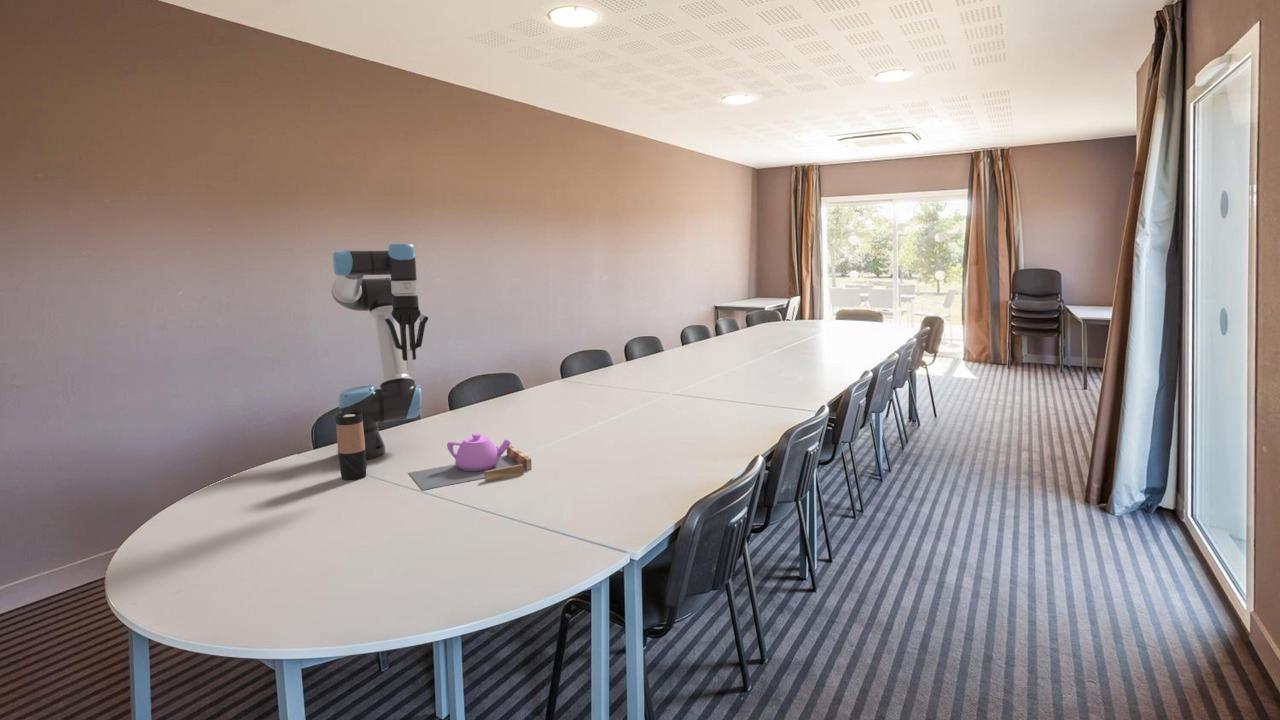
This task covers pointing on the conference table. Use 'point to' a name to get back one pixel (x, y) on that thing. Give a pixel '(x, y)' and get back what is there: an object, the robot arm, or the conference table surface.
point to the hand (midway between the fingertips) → (410, 370)
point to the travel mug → (351, 446)
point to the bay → (510, 470)
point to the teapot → (477, 453)
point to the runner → (454, 474)
